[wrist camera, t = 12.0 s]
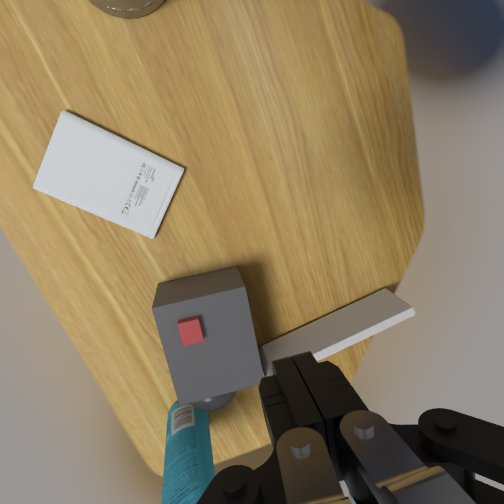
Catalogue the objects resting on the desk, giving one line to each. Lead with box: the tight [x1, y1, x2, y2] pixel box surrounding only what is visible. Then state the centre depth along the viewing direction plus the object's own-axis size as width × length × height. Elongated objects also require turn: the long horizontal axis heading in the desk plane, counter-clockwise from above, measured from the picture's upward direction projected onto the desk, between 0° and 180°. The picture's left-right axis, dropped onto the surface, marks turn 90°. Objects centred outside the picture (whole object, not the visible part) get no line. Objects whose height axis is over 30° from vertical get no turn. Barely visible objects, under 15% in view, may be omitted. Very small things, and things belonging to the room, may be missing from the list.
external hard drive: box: [33, 110, 184, 239], centre depth 38 cm, size 2×8×12 cm
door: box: [258, 288, 415, 377], centre depth 43 cm, size 18×2×6 cm, turn 113°
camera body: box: [152, 266, 264, 411], centre depth 40 cm, size 13×9×8 cm
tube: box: [161, 401, 215, 504], centre depth 37 cm, size 7×5×19 cm, turn 138°
